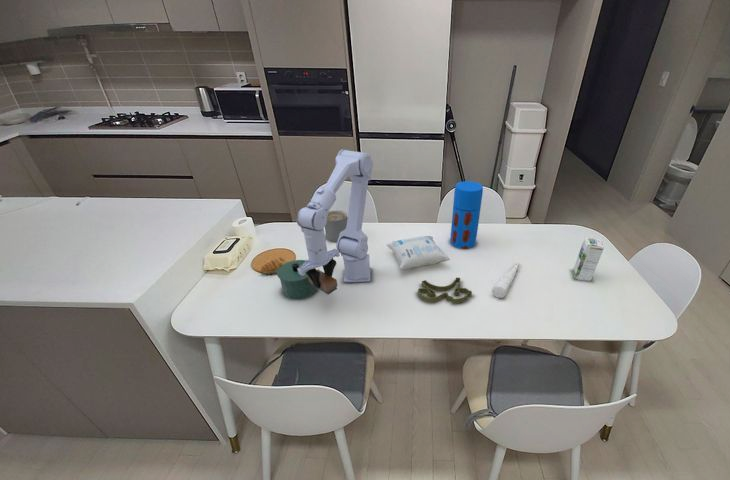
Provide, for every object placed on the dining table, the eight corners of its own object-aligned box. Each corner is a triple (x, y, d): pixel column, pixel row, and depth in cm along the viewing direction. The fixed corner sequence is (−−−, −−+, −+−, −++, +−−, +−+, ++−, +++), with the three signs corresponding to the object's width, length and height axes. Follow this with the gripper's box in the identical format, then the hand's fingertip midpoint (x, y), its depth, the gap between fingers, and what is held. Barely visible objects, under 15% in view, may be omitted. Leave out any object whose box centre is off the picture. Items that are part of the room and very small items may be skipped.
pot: (319, 278, 128) (316, 261, 124) (315, 298, 119) (311, 280, 115) (287, 279, 127) (282, 262, 123) (280, 299, 118) (275, 282, 114)
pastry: (265, 278, 128) (263, 269, 126) (259, 270, 132) (256, 261, 130) (290, 269, 133) (287, 260, 130) (282, 261, 137) (280, 253, 135)
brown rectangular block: (338, 289, 112) (336, 279, 109) (328, 295, 109) (326, 285, 107) (319, 278, 116) (318, 269, 114) (309, 284, 113) (307, 275, 111)
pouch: (433, 228, 143) (386, 233, 138) (451, 252, 129) (400, 259, 124) (431, 244, 148) (386, 250, 143) (449, 269, 134) (399, 277, 129)
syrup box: (572, 270, 133) (583, 237, 124) (588, 272, 132) (601, 238, 123) (574, 279, 128) (586, 245, 120) (591, 281, 127) (605, 247, 119)
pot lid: (317, 261, 125) (316, 254, 123) (313, 282, 115) (311, 274, 113) (281, 263, 124) (279, 255, 122) (273, 284, 114) (271, 276, 112)
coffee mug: (324, 241, 149) (321, 220, 143) (328, 230, 157) (325, 210, 151) (356, 241, 150) (353, 220, 144) (358, 230, 158) (356, 210, 152)
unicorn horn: (527, 268, 134) (530, 257, 131) (503, 300, 118) (505, 289, 116) (515, 264, 136) (517, 253, 133) (490, 295, 121) (492, 284, 118)
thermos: (477, 249, 145) (485, 191, 130) (451, 249, 145) (456, 191, 130) (473, 236, 154) (480, 181, 139) (449, 236, 154) (454, 180, 139)
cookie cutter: (464, 281, 127) (465, 276, 126) (473, 302, 118) (474, 297, 116) (415, 285, 125) (415, 280, 124) (421, 306, 116) (421, 302, 114)
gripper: (326, 233, 110) (332, 268, 118) (287, 252, 101) (296, 289, 109) (341, 240, 107) (346, 276, 115) (303, 260, 98) (311, 298, 106)
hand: (323, 283), depth 112 cm, fingers closed on brown rectangular block, 4 cm apart
